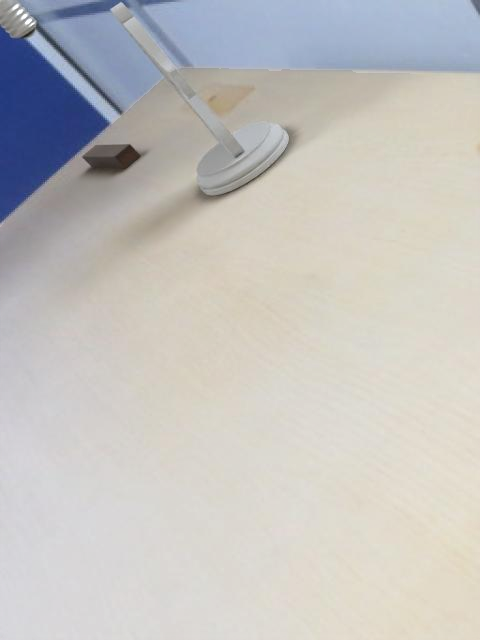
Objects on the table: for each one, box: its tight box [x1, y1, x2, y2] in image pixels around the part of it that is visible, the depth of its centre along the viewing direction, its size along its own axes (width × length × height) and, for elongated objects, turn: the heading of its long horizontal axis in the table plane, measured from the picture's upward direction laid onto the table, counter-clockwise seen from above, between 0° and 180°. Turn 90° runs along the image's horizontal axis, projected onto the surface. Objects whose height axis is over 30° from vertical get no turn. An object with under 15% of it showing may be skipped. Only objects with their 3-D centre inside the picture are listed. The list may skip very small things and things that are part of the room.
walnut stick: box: [81, 143, 141, 169], centre depth 90 cm, size 10×2×2 cm, turn 57°
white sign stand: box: [109, 1, 290, 196], centre depth 67 cm, size 10×10×15 cm
